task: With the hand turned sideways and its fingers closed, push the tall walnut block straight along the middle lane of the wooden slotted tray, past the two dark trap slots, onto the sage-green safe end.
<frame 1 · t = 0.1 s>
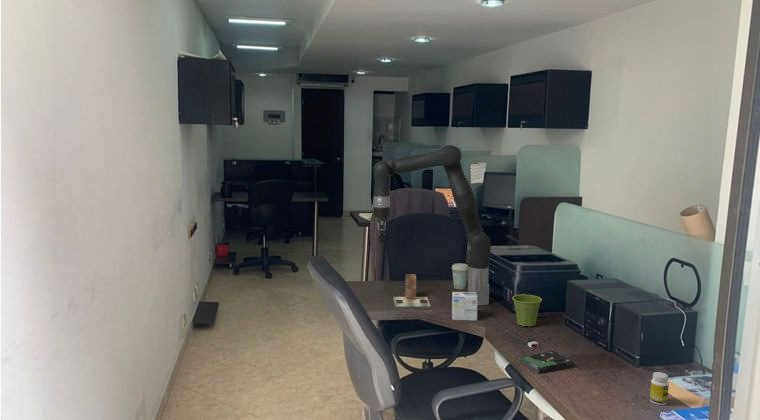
hand: (381, 241, 263), 29 cm above the table, tool pointing down, fingers open, 8 cm apart
walnut block: (410, 298, 270), point 1 cm above the table, touching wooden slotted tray
supplement bottle: (658, 402, 170), on the table
usb drive: (524, 343, 218), on the table
disk drive: (546, 366, 197), on the table
plant pot: (525, 325, 238), on the table
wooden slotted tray: (411, 304, 265), on the table
light bulb box: (464, 318, 246), on the table
coffee cup: (459, 288, 294), on the table
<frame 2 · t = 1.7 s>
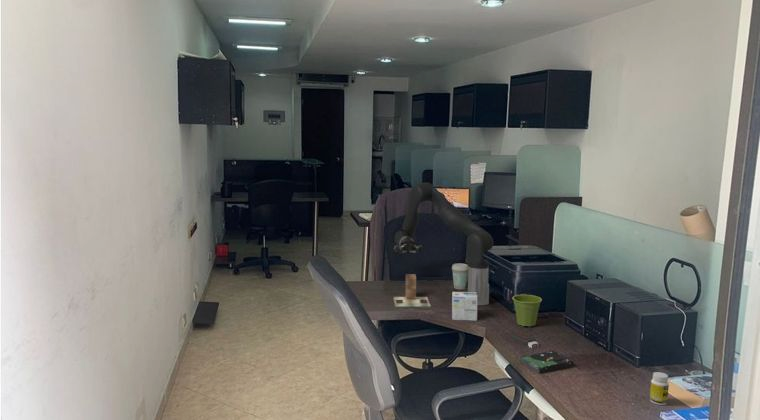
hand: (409, 251, 275), 22 cm above the table, tool horizontal, fingers open, 6 cm apart
nothing on the table moved.
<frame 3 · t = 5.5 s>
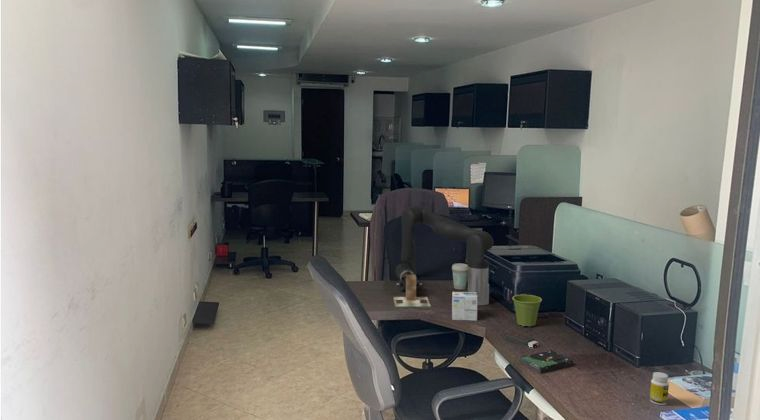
hand: (410, 288, 270), 6 cm above the table, tool horizontal, fingers closed
walnut block: (410, 299, 269), point 2 cm above the table
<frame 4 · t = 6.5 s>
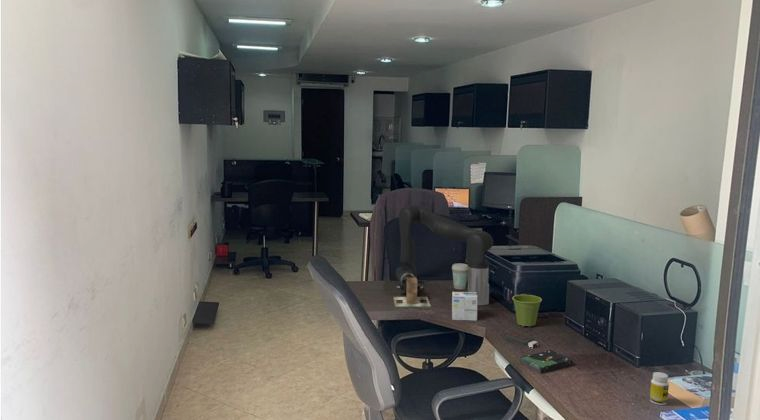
hand: (411, 291, 265), 6 cm above the table, tool horizontal, fingers closed
walnut block: (411, 302, 263), point 2 cm above the table
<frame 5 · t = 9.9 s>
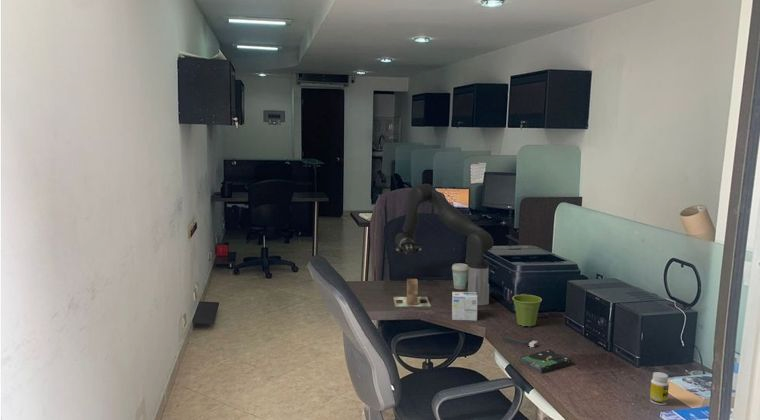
hand: (410, 252, 274), 22 cm above the table, tool horizontal, fingers closed
walnut block: (412, 303, 261), point 1 cm above the table, touching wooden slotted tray
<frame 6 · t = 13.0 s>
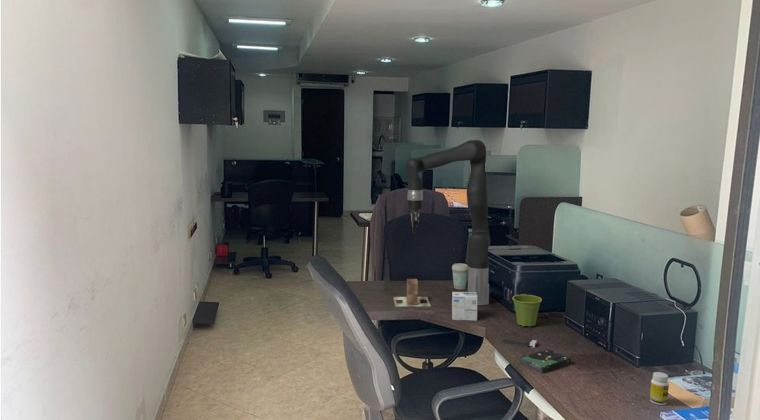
hand: (414, 233, 283), 29 cm above the table, tool pointing down, fingers closed
at the end: walnut block 0.6 cm from the target spot on the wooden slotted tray, point 1.5 cm above the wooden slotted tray's base; walnut block tilted 0° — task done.
